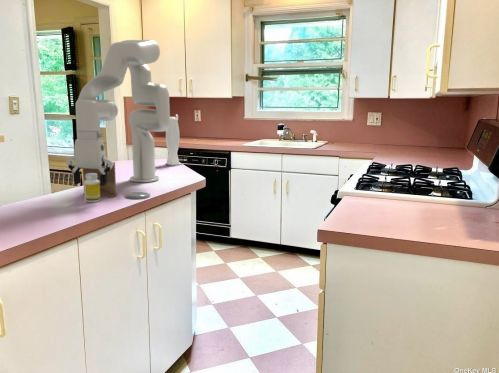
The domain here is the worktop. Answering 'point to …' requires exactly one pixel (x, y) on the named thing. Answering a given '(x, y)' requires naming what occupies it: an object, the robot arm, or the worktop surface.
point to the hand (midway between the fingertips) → (90, 184)
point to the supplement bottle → (91, 188)
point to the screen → (111, 181)
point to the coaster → (137, 195)
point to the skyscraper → (173, 142)
